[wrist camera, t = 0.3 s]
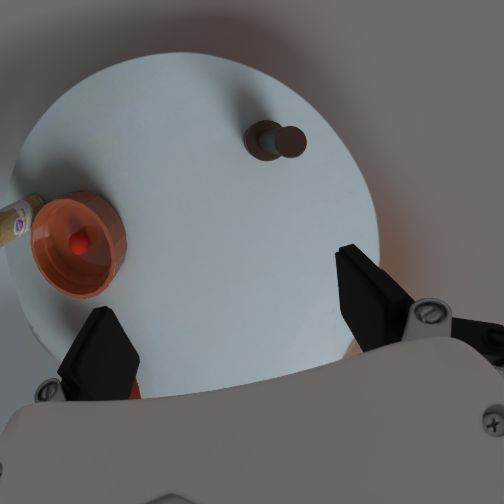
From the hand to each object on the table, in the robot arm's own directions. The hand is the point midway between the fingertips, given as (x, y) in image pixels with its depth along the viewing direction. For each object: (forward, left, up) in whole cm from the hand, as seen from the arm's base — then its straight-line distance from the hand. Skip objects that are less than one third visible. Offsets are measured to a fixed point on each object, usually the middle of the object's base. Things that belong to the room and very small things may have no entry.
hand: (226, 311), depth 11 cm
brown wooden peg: (-5, +6, -25) cm, 26 cm away
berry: (0, -20, -22) cm, 30 cm away
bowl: (0, -20, -25) cm, 32 cm away
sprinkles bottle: (-7, -27, -25) cm, 37 cm away
